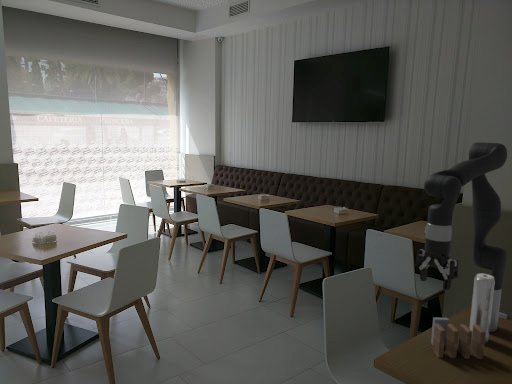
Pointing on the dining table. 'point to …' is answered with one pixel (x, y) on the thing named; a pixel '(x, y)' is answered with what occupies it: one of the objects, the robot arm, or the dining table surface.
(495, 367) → the dining table surface
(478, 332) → the walnut domino
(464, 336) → the walnut domino
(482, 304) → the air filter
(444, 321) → the slate domino
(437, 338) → the walnut domino
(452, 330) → the walnut domino
